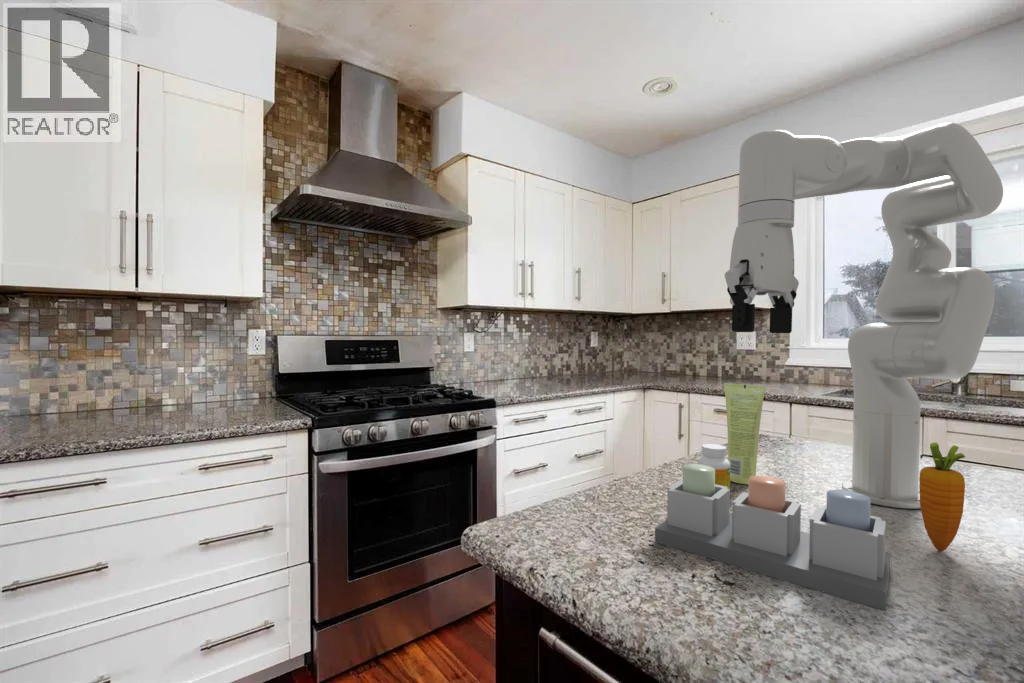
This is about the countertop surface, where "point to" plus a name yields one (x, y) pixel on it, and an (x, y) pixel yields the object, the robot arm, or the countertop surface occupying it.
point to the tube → (743, 428)
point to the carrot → (942, 497)
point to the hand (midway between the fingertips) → (762, 332)
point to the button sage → (699, 479)
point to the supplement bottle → (716, 463)
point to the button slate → (848, 509)
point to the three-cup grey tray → (780, 543)
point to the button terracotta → (767, 493)
